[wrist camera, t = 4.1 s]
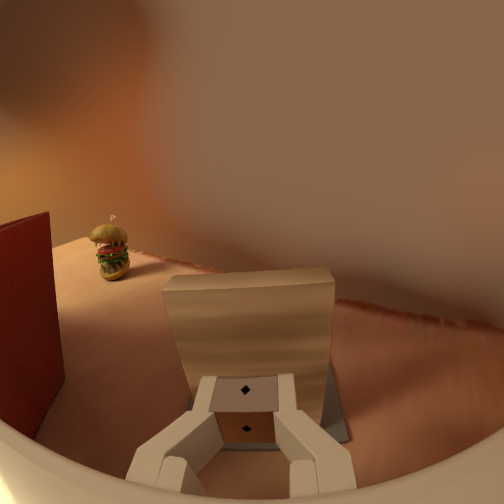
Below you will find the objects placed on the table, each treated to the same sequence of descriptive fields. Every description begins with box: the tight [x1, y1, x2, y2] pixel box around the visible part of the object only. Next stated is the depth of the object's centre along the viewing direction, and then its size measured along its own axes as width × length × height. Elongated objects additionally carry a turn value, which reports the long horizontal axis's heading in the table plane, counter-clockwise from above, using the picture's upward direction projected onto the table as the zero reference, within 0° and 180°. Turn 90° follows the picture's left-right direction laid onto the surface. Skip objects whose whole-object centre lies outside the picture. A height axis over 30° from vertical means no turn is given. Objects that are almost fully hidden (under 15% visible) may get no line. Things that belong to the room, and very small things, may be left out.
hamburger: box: [90, 215, 130, 280], centre depth 47 cm, size 8×7×12 cm
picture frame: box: [162, 267, 335, 426], centre depth 15 cm, size 2×8×12 cm, turn 88°
